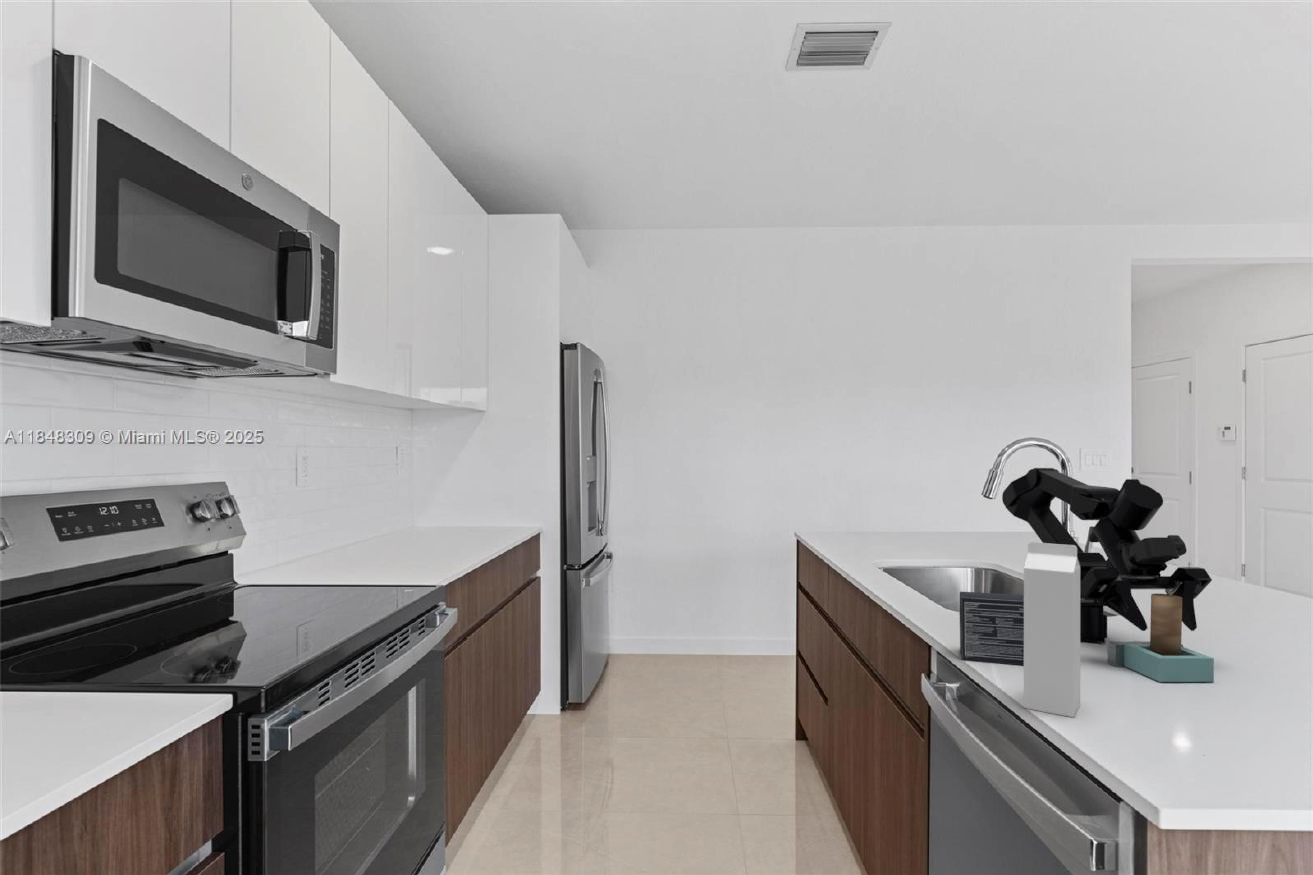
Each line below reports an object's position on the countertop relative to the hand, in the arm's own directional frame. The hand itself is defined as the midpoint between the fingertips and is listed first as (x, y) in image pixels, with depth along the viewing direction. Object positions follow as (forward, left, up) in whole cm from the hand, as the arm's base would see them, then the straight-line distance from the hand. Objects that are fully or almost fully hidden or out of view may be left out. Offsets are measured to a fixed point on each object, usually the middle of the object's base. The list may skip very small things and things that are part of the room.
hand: (1169, 629), depth 116 cm
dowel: (0, +1, -7) cm, 7 cm away
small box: (-25, -2, -7) cm, 26 cm away
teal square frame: (0, 0, -7) cm, 7 cm away
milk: (-17, -24, -7) cm, 30 cm away
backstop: (-3, +5, -7) cm, 9 cm away
